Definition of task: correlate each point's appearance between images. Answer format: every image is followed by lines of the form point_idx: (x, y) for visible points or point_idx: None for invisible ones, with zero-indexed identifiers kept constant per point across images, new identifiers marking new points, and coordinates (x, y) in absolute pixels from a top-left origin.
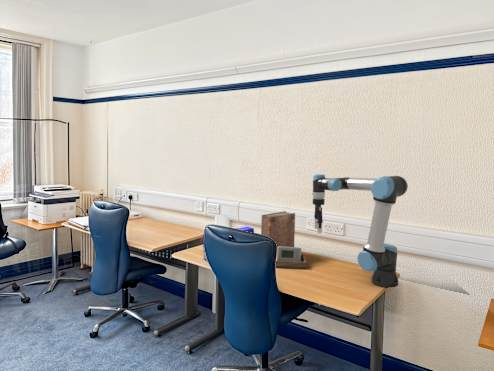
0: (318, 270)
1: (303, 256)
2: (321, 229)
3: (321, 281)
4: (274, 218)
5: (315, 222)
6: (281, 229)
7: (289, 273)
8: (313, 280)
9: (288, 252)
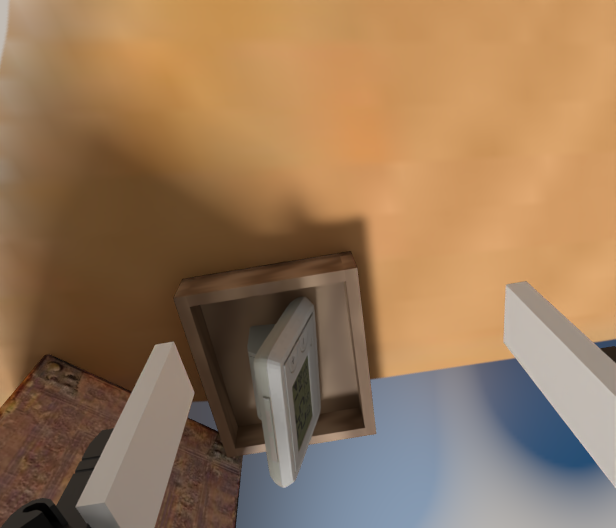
0: (366, 172)
1: (219, 298)
2: (565, 323)
3: (568, 143)
4: None
5: (160, 478)
6: None
7: (450, 326)
8: (552, 192)
9: (298, 405)
